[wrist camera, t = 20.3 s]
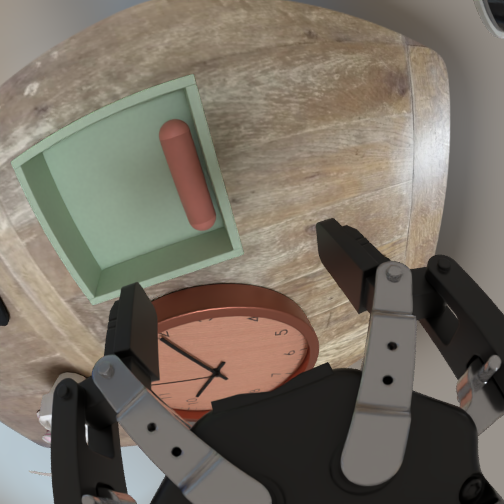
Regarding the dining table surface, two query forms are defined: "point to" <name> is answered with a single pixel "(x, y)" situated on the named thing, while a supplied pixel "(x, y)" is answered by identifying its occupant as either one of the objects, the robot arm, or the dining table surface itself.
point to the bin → (126, 194)
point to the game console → (3, 315)
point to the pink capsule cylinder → (187, 173)
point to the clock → (228, 345)
